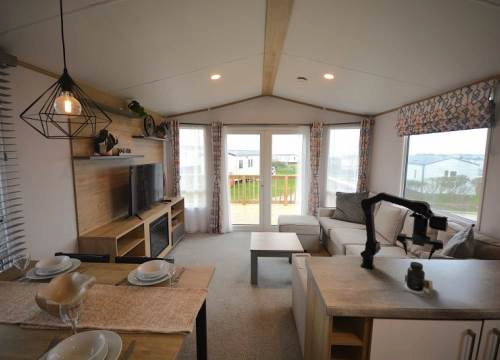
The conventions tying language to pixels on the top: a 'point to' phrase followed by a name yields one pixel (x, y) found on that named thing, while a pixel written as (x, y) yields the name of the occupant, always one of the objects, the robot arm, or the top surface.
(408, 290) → the corner arena
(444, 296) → the top surface
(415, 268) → the supplement bottle
